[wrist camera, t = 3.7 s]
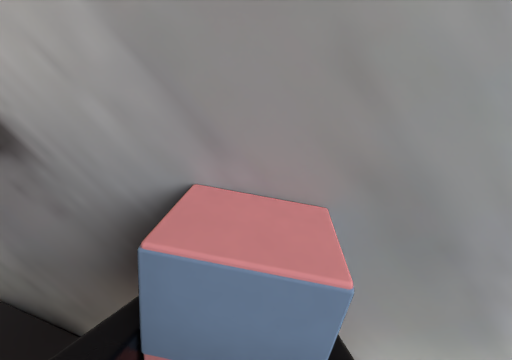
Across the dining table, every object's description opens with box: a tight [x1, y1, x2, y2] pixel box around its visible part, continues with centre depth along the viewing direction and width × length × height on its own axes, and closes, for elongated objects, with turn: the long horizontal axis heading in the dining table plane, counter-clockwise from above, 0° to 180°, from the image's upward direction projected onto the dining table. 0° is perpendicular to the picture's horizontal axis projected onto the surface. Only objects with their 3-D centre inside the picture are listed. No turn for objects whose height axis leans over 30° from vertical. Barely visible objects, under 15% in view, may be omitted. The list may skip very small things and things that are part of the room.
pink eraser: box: [137, 184, 354, 360], centre depth 7 cm, size 6×4×3 cm, turn 171°
